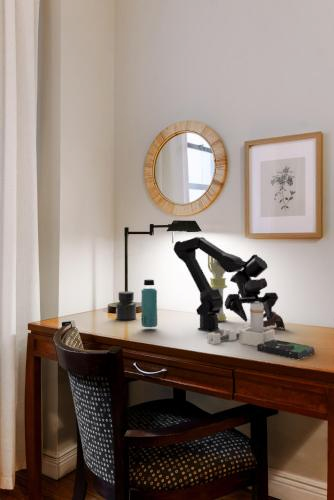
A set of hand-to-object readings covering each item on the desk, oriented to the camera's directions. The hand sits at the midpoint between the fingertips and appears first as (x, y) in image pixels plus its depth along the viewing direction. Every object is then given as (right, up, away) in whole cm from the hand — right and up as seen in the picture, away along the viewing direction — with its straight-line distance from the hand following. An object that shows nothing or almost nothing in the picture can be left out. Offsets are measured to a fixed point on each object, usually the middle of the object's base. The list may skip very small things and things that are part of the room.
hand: (258, 320), depth 151 cm
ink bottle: (-50, -7, +47) cm, 69 cm away
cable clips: (-8, -8, +6) cm, 13 cm away
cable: (-6, -7, +5) cm, 11 cm away
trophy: (-9, -7, +42) cm, 43 cm away
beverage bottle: (-39, -8, +24) cm, 46 cm away
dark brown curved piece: (+10, -8, +24) cm, 27 cm away
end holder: (0, -8, +2) cm, 8 cm away
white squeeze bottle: (0, -7, +2) cm, 7 cm away
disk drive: (+6, -9, -11) cm, 16 cm away
